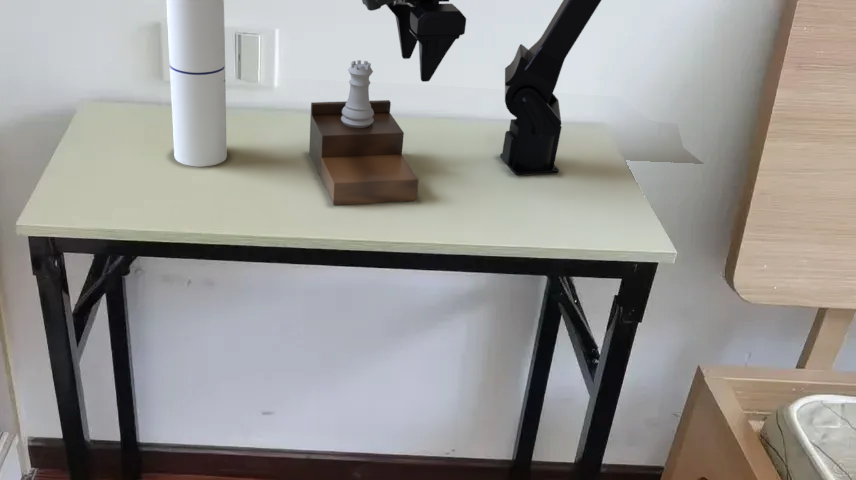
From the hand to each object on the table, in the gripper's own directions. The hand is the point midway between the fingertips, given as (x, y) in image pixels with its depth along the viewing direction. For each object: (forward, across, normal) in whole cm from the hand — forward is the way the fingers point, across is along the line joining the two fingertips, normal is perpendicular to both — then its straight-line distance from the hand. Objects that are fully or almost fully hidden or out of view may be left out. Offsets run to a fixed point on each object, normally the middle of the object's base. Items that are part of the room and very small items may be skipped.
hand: (415, 69), depth 130 cm
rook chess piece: (+6, +3, -8) cm, 11 cm away
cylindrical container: (+12, -2, -29) cm, 32 cm away
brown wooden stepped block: (+12, +7, -8) cm, 16 cm away
